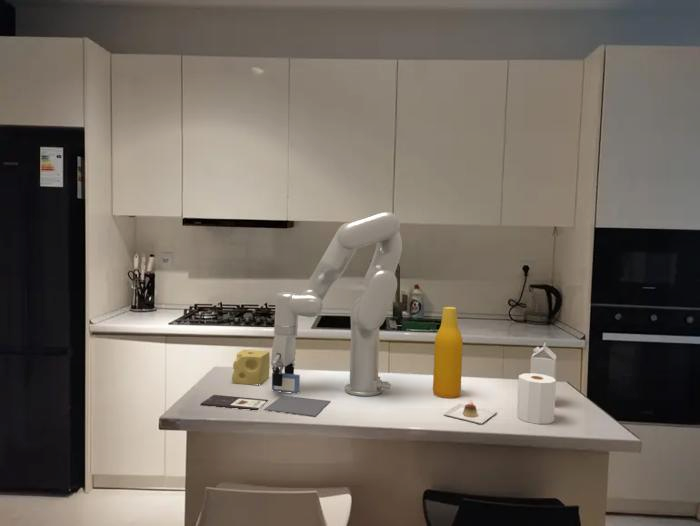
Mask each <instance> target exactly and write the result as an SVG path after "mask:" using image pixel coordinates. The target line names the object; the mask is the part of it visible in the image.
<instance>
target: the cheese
mask: <svg viewBox="0 0 700 526" xmlns="http://www.w3.org/2000/svg"><path fill="white" fill-rule="evenodd" d="M270 358H271V356H270V351H269V350H268V351H267V350H253V349H242V350H240V351H239V352H237V354H236V359H235V360H234V361H233V365H232V368H233V372H232V375H231V381H232V384H234V383H237V385H250V384H258V385H257V386H260V385H259V384H261V383H262V384H263V383H264V382H265V381H267V380H268V379H269V377H270V365H271V361H270V360H271V359H270ZM262 384H261V385H262Z"/></svg>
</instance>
